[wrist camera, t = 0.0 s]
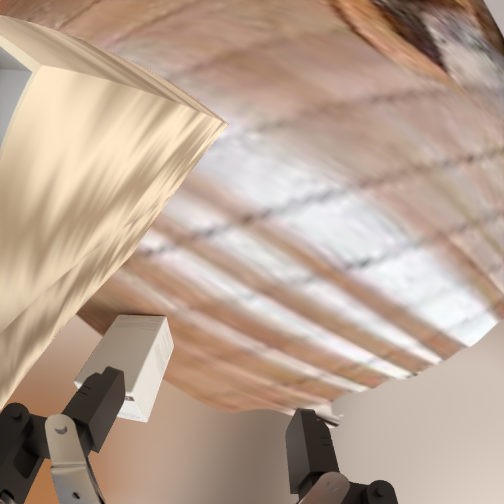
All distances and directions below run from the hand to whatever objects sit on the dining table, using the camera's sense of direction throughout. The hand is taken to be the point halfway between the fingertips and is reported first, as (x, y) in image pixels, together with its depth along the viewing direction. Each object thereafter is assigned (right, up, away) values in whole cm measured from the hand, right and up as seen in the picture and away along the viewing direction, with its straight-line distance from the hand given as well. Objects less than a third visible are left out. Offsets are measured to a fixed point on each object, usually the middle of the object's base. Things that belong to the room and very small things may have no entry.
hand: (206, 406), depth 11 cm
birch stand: (-10, +16, +18) cm, 26 cm away
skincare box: (-13, -4, +27) cm, 31 cm away
